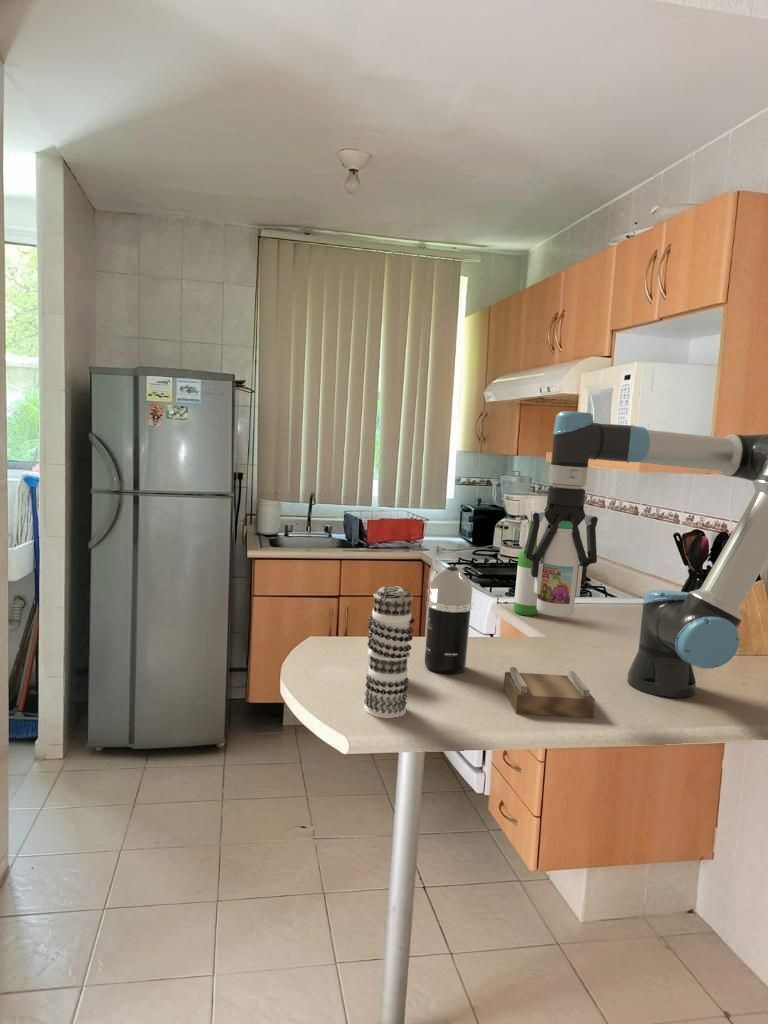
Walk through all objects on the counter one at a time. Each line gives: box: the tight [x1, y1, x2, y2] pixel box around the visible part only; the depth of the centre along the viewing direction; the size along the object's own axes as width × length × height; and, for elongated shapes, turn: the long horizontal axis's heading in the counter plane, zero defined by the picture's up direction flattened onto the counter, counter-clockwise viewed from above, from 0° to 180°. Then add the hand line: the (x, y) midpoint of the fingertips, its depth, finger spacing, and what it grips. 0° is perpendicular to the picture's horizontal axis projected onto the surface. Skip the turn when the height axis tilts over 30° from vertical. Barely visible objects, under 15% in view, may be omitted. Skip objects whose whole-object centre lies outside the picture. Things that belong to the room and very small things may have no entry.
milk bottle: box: [537, 520, 579, 618], centre depth 154 cm, size 8×8×20 cm
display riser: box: [503, 666, 596, 719], centre depth 157 cm, size 16×14×6 cm
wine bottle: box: [513, 520, 542, 617], centre depth 233 cm, size 8×8×30 cm
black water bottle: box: [424, 565, 473, 675], centre depth 174 cm, size 10×10×25 cm
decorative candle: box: [363, 585, 416, 719], centre depth 146 cm, size 9×9×25 cm
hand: (556, 593), depth 154 cm, fingers closed on milk bottle, 8 cm apart
